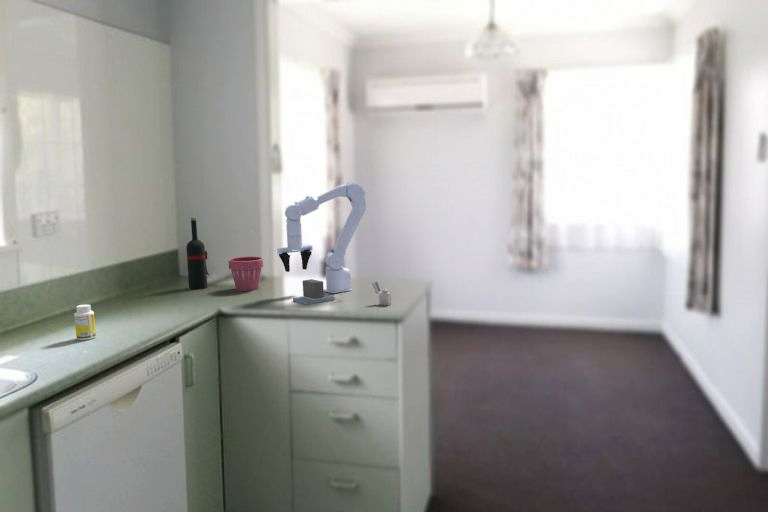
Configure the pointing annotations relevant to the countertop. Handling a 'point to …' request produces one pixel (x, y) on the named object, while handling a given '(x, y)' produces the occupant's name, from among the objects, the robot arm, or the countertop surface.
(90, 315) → the supplement bottle
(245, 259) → the plant pot
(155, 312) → the countertop surface
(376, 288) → the lighter
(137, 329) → the countertop surface
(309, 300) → the header board
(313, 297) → the block
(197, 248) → the wine bottle
